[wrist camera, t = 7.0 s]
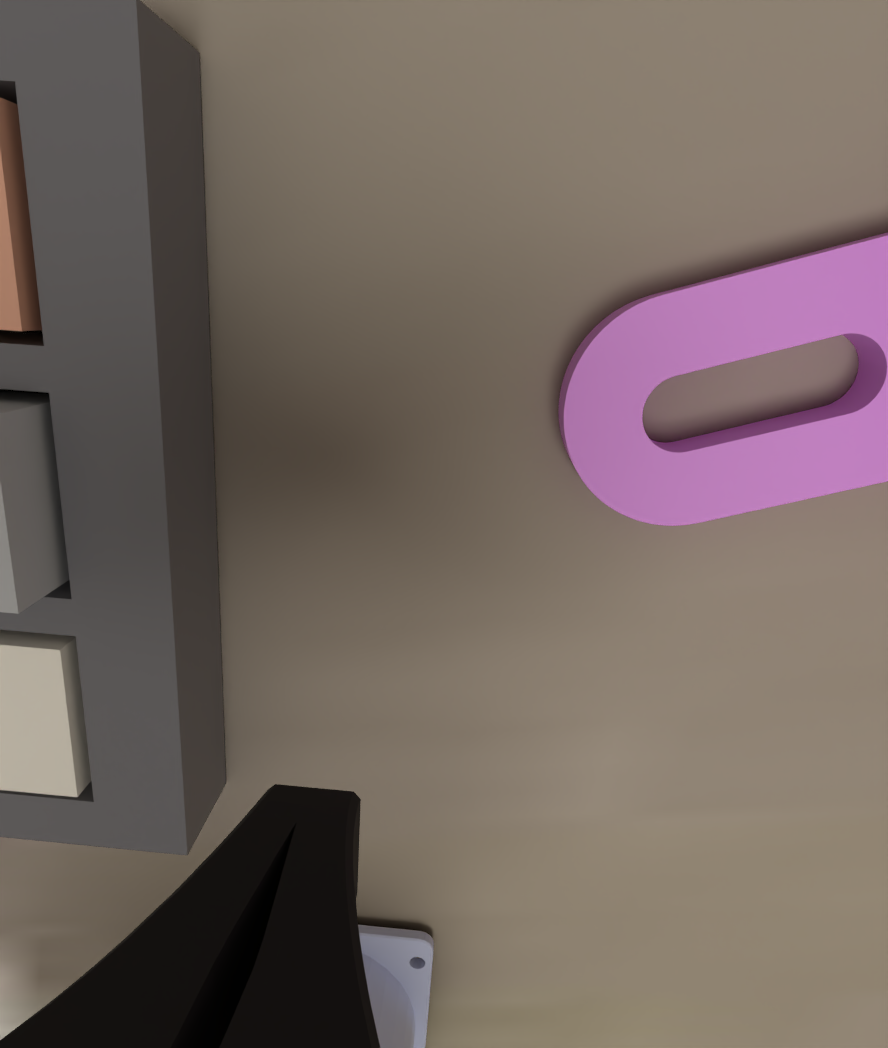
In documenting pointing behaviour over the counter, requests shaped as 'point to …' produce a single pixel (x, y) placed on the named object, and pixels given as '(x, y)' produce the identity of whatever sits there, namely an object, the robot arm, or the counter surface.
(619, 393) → the bracket
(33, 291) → the terracotta key
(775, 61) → the counter surface
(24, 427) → the grey key
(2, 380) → the grey slotted base
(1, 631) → the cream key
